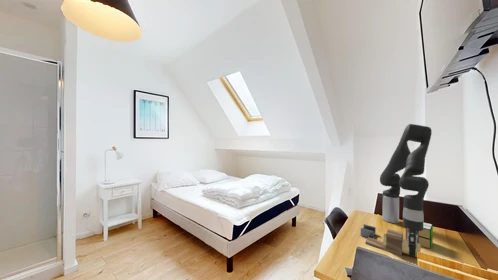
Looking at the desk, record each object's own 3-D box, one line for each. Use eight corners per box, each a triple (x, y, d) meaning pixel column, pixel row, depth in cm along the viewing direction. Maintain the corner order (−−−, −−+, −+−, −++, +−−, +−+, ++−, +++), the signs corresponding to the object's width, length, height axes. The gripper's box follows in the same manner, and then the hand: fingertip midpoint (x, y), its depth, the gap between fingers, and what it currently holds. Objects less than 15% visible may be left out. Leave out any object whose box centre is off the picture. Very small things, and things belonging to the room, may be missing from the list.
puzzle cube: (408, 235, 110) (409, 218, 110) (432, 242, 103) (432, 224, 103) (405, 241, 104) (405, 223, 104) (430, 249, 96) (430, 229, 96)
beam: (368, 238, 105) (368, 223, 105) (402, 249, 95) (402, 232, 95) (365, 243, 100) (365, 227, 100) (401, 255, 90) (401, 237, 90)
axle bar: (384, 243, 99) (384, 233, 99) (420, 254, 89) (420, 244, 89) (383, 246, 96) (383, 236, 96) (420, 258, 86) (420, 247, 86)
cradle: (363, 230, 115) (364, 224, 115) (375, 234, 111) (375, 227, 111) (360, 235, 109) (360, 228, 109) (372, 239, 105) (372, 232, 105)
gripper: (423, 224, 82) (423, 264, 82) (423, 216, 93) (423, 251, 92) (401, 219, 87) (401, 256, 87) (403, 211, 98) (403, 245, 98)
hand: (412, 253), depth 90 cm, fingers closed on axle bar, 4 cm apart
